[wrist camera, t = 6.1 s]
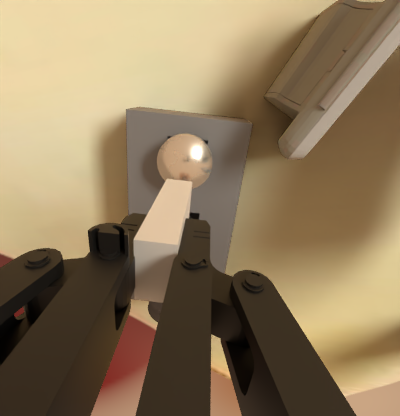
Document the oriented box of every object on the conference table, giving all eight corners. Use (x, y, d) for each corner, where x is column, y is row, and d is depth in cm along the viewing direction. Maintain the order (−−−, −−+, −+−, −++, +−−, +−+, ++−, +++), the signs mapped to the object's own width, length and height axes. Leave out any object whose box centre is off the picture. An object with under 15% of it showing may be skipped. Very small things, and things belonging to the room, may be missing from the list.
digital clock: (282, 162, 29) (319, 194, 20) (232, 106, 27) (245, 112, 17) (413, 47, 24) (549, 16, 14) (365, -35, 22) (492, -139, 12)
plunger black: (157, 259, 30) (148, 289, 26) (198, 264, 31) (196, 294, 26) (156, 290, 33) (147, 323, 28) (194, 294, 33) (192, 328, 28)
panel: (139, 106, 27) (126, 109, 23) (245, 119, 27) (252, 123, 23) (139, 274, 37) (130, 298, 33) (216, 282, 37) (218, 307, 33)
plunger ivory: (166, 125, 26) (157, 131, 21) (214, 130, 26) (215, 138, 21) (164, 171, 28) (156, 186, 24) (208, 176, 28) (208, 192, 24)
